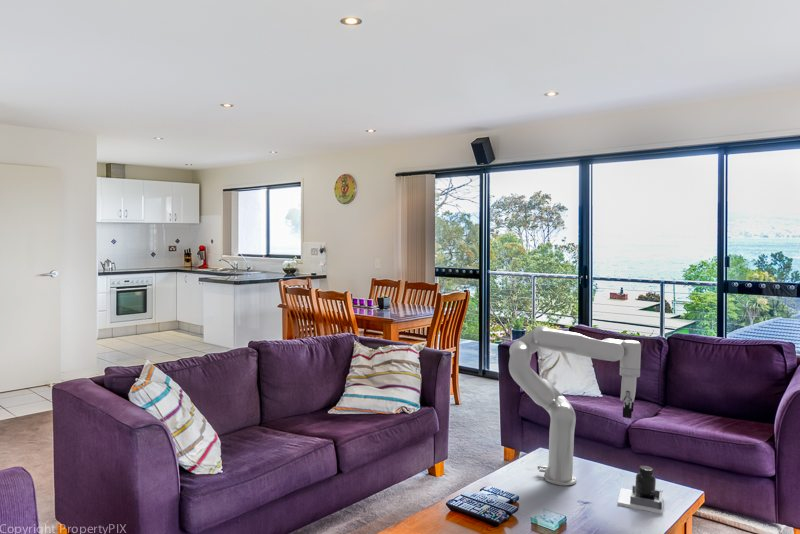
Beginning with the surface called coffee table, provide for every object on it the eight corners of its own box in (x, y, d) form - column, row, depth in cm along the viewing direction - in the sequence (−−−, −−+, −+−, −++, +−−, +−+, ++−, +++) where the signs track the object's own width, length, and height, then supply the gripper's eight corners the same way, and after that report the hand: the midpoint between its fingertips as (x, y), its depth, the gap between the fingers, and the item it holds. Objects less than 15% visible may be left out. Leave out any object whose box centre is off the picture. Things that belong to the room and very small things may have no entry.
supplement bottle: (656, 504, 211) (658, 472, 210) (636, 502, 212) (638, 470, 212) (652, 496, 218) (653, 465, 217) (633, 494, 219) (634, 463, 219)
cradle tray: (617, 504, 212) (617, 495, 212) (620, 490, 225) (621, 481, 225) (662, 514, 206) (662, 504, 206) (663, 498, 219) (663, 489, 218)
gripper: (621, 366, 238) (619, 407, 239) (617, 374, 223) (615, 418, 224) (641, 368, 235) (639, 410, 236) (638, 377, 220) (636, 421, 220)
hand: (628, 414), depth 230 cm, fingers open, 9 cm apart
